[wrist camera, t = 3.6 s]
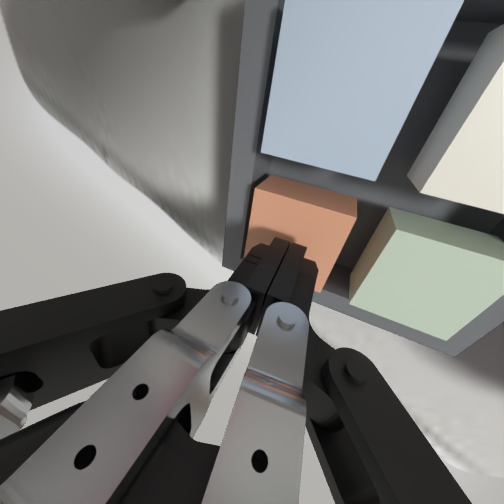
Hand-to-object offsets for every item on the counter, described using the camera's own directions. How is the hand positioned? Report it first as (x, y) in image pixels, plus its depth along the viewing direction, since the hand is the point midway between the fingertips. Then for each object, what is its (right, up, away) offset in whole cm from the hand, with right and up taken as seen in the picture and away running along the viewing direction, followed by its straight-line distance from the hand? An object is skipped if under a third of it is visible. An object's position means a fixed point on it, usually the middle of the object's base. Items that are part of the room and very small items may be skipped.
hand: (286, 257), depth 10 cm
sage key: (+7, 0, +1) cm, 7 cm away
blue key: (+2, +7, -1) cm, 7 cm away
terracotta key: (+1, +2, +2) cm, 3 cm away
